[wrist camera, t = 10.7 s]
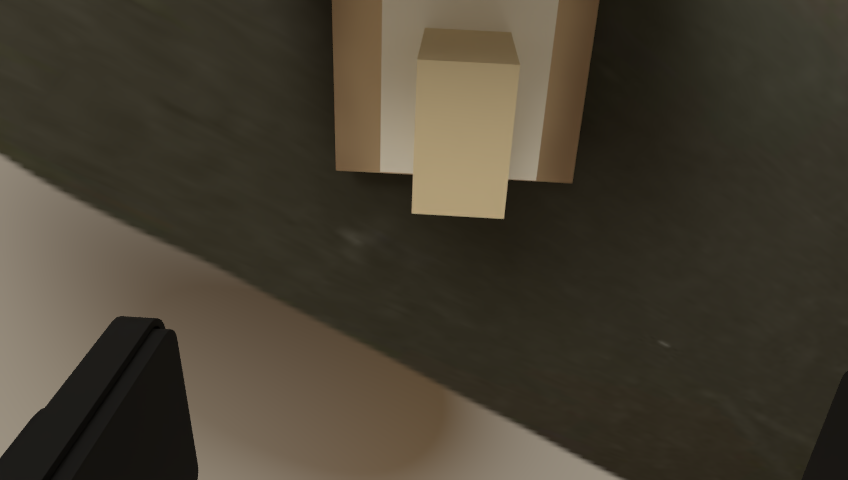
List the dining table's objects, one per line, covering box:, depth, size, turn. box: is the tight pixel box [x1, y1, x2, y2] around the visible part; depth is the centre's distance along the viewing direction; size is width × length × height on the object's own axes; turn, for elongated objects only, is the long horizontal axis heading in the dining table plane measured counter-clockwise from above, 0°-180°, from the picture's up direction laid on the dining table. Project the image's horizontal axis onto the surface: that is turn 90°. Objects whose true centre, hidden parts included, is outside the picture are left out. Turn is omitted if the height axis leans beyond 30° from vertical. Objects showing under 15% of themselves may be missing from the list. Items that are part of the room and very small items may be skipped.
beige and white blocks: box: [380, 0, 559, 219], centre depth 26 cm, size 6×10×12 cm, turn 178°
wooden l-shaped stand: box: [332, 0, 599, 183], centre depth 25 cm, size 18×15×22 cm
